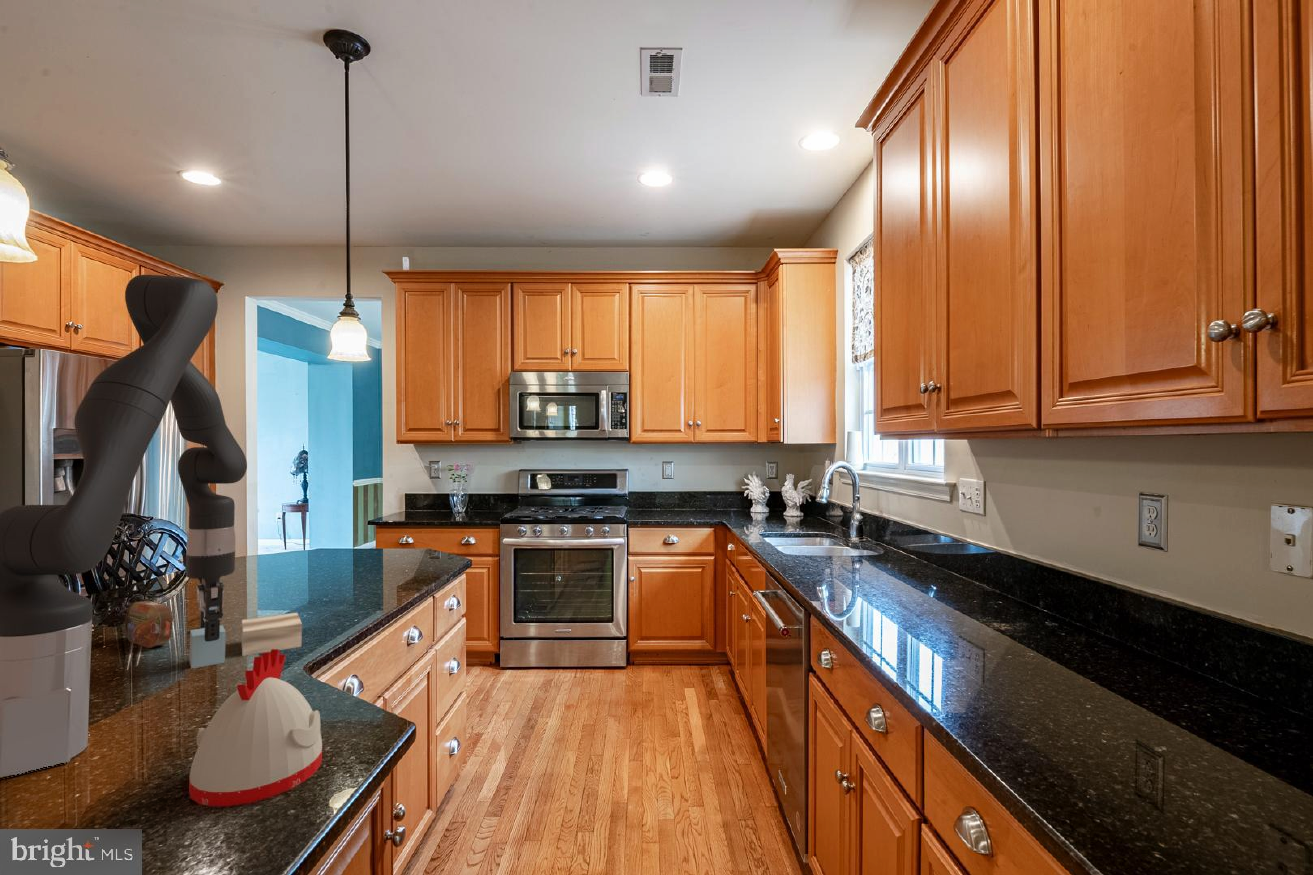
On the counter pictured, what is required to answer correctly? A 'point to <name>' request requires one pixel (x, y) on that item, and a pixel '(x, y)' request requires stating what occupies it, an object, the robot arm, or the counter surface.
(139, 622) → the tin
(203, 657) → the blue-gray block
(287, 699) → the kitchen timer
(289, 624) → the birch block
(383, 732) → the counter surface
